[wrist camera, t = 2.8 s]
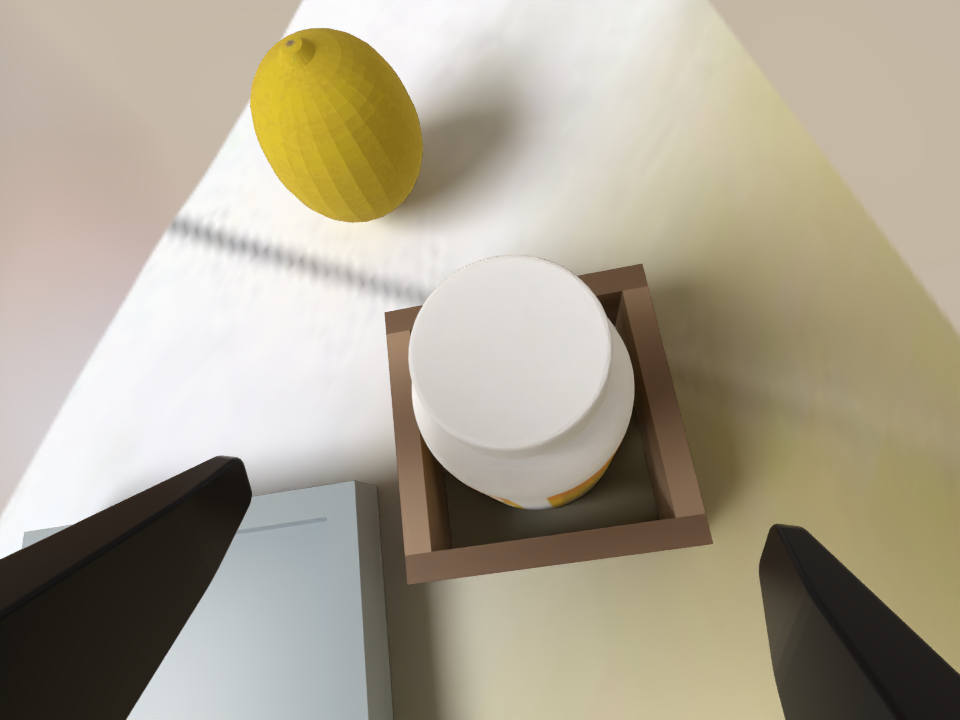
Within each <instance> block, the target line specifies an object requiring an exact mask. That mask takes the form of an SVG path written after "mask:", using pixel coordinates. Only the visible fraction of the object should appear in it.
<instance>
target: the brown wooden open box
mask: <svg viewBox="0 0 960 720" xmlns="http://www.w3.org/2000/svg"><path fill="white" fill-rule="evenodd" d="M577 277H578V278H580V279H581V280H582V281H583V282H584V283H585V284H586V285H587V286H588V287H589V288H590V289H591V291H592V292H593V293H594V294H595V296H596V297H597V298H598V300H599V302H600V303H601V305H602V307H603V309H604V311H605V313H606V315H607V318H608V319H609V320H610V321H611V323H612V324H613V325H616V330H617V332H618V333H619V335H620V337H621V339H622V340H623V342H624V344H625V347H626V349H627V351H628V354H629V357H630V360H631V364H632V368H633V374H634V402H633V405H634V409H635V413H636V418H637V422H638V427H639V431H640V435H641V440H642V444H643V449H644V453H645V458H646V462H647V466H648V471H649V475H650V480H651V484H652V488H653V493H654V497H655V502H656V506H657V510H658V515H659V519H660V520H656V521H649V522H642V523H635V524H627V525H620V526H613V527H606V528H599V529H592V530H584V531H577V532H570V533H563V534H556V535H549V536H542V537H534V538H527V539H520V540H513V541H506V542H499V543H491V544H484V545H477V546H470V547H463V548H456V549H452V542H451V533H450V524H449V515H448V506H447V497H446V488H445V479H444V469H443V465H442V464H441V463H440V462H439V461H438V460H437V459H436V458H435V456H434V455H433V454H432V452H431V451H430V449H429V448H428V446H427V444H426V442H425V440H424V438H423V436H422V434H421V432H420V429H419V427H418V424H417V421H416V417H415V413H414V409H413V402H412V379H411V376H410V371H409V361H408V355H409V342H410V337H411V332H412V329H413V326H414V322H415V320H416V318H417V315H418V313H419V311H420V310H421V308H422V306H423V305H421V306H416V307H411V308H406V309H400V310H395V311H390V312H385V323H386V335H387V347H388V359H389V371H390V383H391V395H392V407H393V419H394V431H395V443H396V455H397V467H398V479H399V491H400V503H401V515H402V527H403V539H404V551H405V563H406V575H407V585H410V584H417V583H424V582H432V581H439V580H447V579H454V578H462V577H469V576H477V575H484V574H492V573H499V572H507V571H514V570H522V569H529V568H537V567H544V566H552V565H559V564H566V563H574V562H581V561H589V560H596V559H604V558H611V557H619V556H626V555H634V554H641V553H649V552H656V551H664V550H671V549H679V548H686V547H694V546H701V545H709V544H713V541H712V537H711V533H710V529H709V525H708V521H707V518H706V514H705V510H704V506H703V502H702V498H701V494H700V490H699V486H698V482H697V478H696V474H695V470H694V466H693V462H692V458H691V454H690V450H689V446H688V442H687V439H686V435H685V431H684V427H683V423H682V419H681V415H680V411H679V407H678V403H677V399H676V395H675V391H674V387H673V383H672V379H671V375H670V371H669V367H668V363H667V360H666V356H665V352H664V348H663V344H662V340H661V336H660V332H659V328H658V324H657V320H656V316H655V312H654V308H653V304H652V300H651V296H650V292H649V288H648V284H647V281H646V277H645V273H644V269H643V265H642V264H638V265H633V266H628V267H622V268H617V269H612V270H606V271H601V272H596V273H591V274H585V275H580V276H577Z"/></svg>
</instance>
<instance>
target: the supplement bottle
mask: <svg viewBox="0 0 960 720" xmlns="http://www.w3.org/2000/svg"><path fill="white" fill-rule="evenodd" d="M408 361H409V371H410V376H411V379H412V402H413V409H414V413H415V417H416V421H417V424H418V427H419V429H420V432H421V434H422V436H423V438H424V440H425V442H426V444H427V446H428V448H429V449H430V451H431V452H432V454H433V455H434V456H435V458H436V459H437V460H438V461H439V462H440V463H441V464H442V465H443V466H444V467H445V468H446V469H447V470H448V471H449V472H450V473H451V474H453V475H454V476H455V477H456V478H458V479H459V480H460V481H462V482H463V483H465V484H466V485H468V486H470V487H471V488H473V489H475V490H477V491H479V492H481V493H484V494H486V495H488V496H490V497H492V498H494V499H496V500H498V501H500V502H502V503H505V504H507V505H510V506H513V507H516V508H520V509H527V510H549V509H555V508H559V507H562V506H565V505H567V504H569V503H572V502H574V501H575V500H577V499H579V498H581V497H582V496H583V495H585V494H586V493H587V492H588V491H590V490H591V489H592V488H593V487H594V486H595V485H596V484H597V483H598V481H599V480H600V479H601V478H602V476H603V475H604V473H605V472H606V470H607V468H608V466H609V464H610V462H611V460H612V458H613V456H614V454H615V452H616V451H617V449H618V447H619V446H620V444H621V442H622V440H623V438H624V435H625V433H626V430H627V428H628V425H629V422H630V418H631V414H632V409H633V402H634V374H633V368H632V364H631V360H630V357H629V354H628V351H627V349H626V347H625V344H624V342H623V340H622V339H621V337H620V335H619V333H618V332H617V330H616V329H615V327H614V326H613V324H612V323H611V321H610V320H609V319H608V318H607V315H606V313H605V311H604V309H603V307H602V305H601V303H600V302H599V300H598V298H597V297H596V296H595V294H594V293H593V292H592V291H591V289H590V288H589V287H588V286H587V285H586V284H585V283H584V282H583V281H582V280H581V279H580V278H578V277H577V276H576V275H574V274H573V273H572V272H570V271H569V270H567V269H565V268H564V267H562V266H560V265H557V264H555V263H553V262H551V261H548V260H545V259H541V258H536V257H531V256H525V255H504V256H496V257H492V258H487V259H484V260H480V261H478V262H475V263H472V264H470V265H468V266H466V267H464V268H462V269H460V270H458V271H457V272H455V273H454V274H452V275H451V276H449V277H448V278H447V279H446V280H444V281H443V282H442V283H441V284H440V285H439V286H438V287H437V288H436V289H435V290H434V291H433V292H432V294H431V295H430V296H429V297H428V299H427V300H426V301H425V303H424V304H423V306H422V308H421V310H420V311H419V313H418V315H417V318H416V320H415V322H414V326H413V329H412V332H411V337H410V342H409V355H408Z"/></svg>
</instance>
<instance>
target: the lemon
mask: <svg viewBox="0 0 960 720" xmlns="http://www.w3.org/2000/svg"><path fill="white" fill-rule="evenodd" d="M250 108H251V113H252V118H253V124H254V129H255V132H256V135H257V139H258V141H259V143H260V146H261V148H262V150H263V152H264V154H265V156H266V158H267V160H268V161H269V163H270V165H271V167H272V169H273V170H274V172H275V174H276V175H277V177H278V178H279V179H280V181H281V182H282V183H283V184H284V186H285V187H286V188H287V189H288V190H289V191H290V192H291V193H292V194H294V195H295V196H296V197H297V198H298V199H299V200H300V201H301V202H302V203H303V204H305V205H306V206H307V207H309V208H310V209H312V210H314V211H315V212H318V213H320V214H322V215H324V216H326V217H328V218H331V219H334V220H339V221H345V222H352V223H353V222H367V221H370V220H374V219H377V218H380V217H383V216H384V215H386V214H388V213H390V212H392V211H393V210H394V209H396V208H397V207H398V206H399V205H400V204H401V203H403V202H404V200H405V199H406V198H407V196H408V195H409V194H410V192H411V191H412V190H413V187H414V185H415V183H416V180H417V178H418V176H419V173H420V169H421V162H422V155H423V143H422V136H421V129H420V123H419V119H418V115H417V112H416V109H415V107H414V105H413V102H412V100H411V99H410V97H409V95H408V93H407V91H406V89H405V87H404V85H403V83H402V82H401V80H400V78H399V77H398V75H397V74H396V73H395V71H394V70H393V69H392V67H391V66H390V65H389V64H388V63H387V62H386V60H385V59H384V58H383V57H382V56H381V55H380V54H379V53H378V52H377V51H376V50H375V49H373V48H372V47H371V46H370V45H369V44H368V43H366V42H364V41H362V40H361V39H359V38H357V37H355V36H353V35H351V34H349V33H346V32H342V31H338V30H333V29H329V28H311V29H306V30H302V31H298V32H296V33H293V34H291V35H289V36H287V37H285V38H284V39H282V40H281V41H279V42H278V43H276V44H275V45H274V46H273V47H272V48H271V49H270V50H269V51H268V52H267V54H266V55H265V57H264V58H263V60H262V61H261V63H260V65H259V67H258V69H257V72H256V74H255V77H254V80H253V84H252V90H251V101H250Z"/></svg>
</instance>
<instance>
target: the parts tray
mask: <svg viewBox="0 0 960 720" xmlns="http://www.w3.org/2000/svg"><path fill="white" fill-rule="evenodd" d="M69 526H71V525H67V526H61V527H54V528H48V529H42V530H35V531H29V532H24V537H23V545H22V549H23V548H25V547H28V546H30V545H32V544H34V543H36V542H38V541H40V540H42V539H44V538H46V537H48V536H51V535H53V534H55V533H57V532H59V531H61V530H63V529H65V528H67V527H69ZM126 720H393V706H392V692H391V678H390V664H389V650H388V636H387V622H386V607H385V593H384V579H383V565H382V551H381V537H380V523H379V509H378V495H377V486H374V485H370V484H366V483H362V482H358V481H349V482H342V483H336V484H330V485H323V486H317V487H310V488H304V489H298V490H291V491H285V492H278V493H272V494H266V495H259V496H253V497H252V499H251V503H250V506H249V508H248V510H247V512H246V514H245V516H244V518H243V520H242V522H241V524H240V526H239V528H238V530H237V532H236V534H235V536H234V539H233V541H232V543H231V545H230V547H229V549H228V551H227V553H226V555H225V557H224V559H223V561H222V563H221V565H220V567H219V569H218V571H217V573H216V574H215V576H214V578H213V580H212V582H211V583H210V585H209V587H208V589H207V590H206V592H205V594H204V595H203V597H202V598H201V600H200V602H199V603H198V605H197V607H196V608H195V610H194V611H193V613H192V615H191V616H190V618H189V619H188V621H187V623H186V624H185V626H184V628H183V629H182V631H181V632H180V634H179V636H178V637H177V639H176V640H175V642H174V644H173V645H172V647H171V648H170V650H169V652H168V653H167V655H166V657H165V658H164V660H163V661H162V663H161V665H160V666H159V668H158V669H157V671H156V673H155V674H154V676H153V678H152V679H151V681H150V682H149V684H148V686H147V687H146V689H145V690H144V692H143V694H142V695H141V697H140V698H139V700H138V702H137V703H136V705H135V707H134V708H133V710H132V711H131V713H130V715H129V716H128V718H127V719H126Z"/></svg>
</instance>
